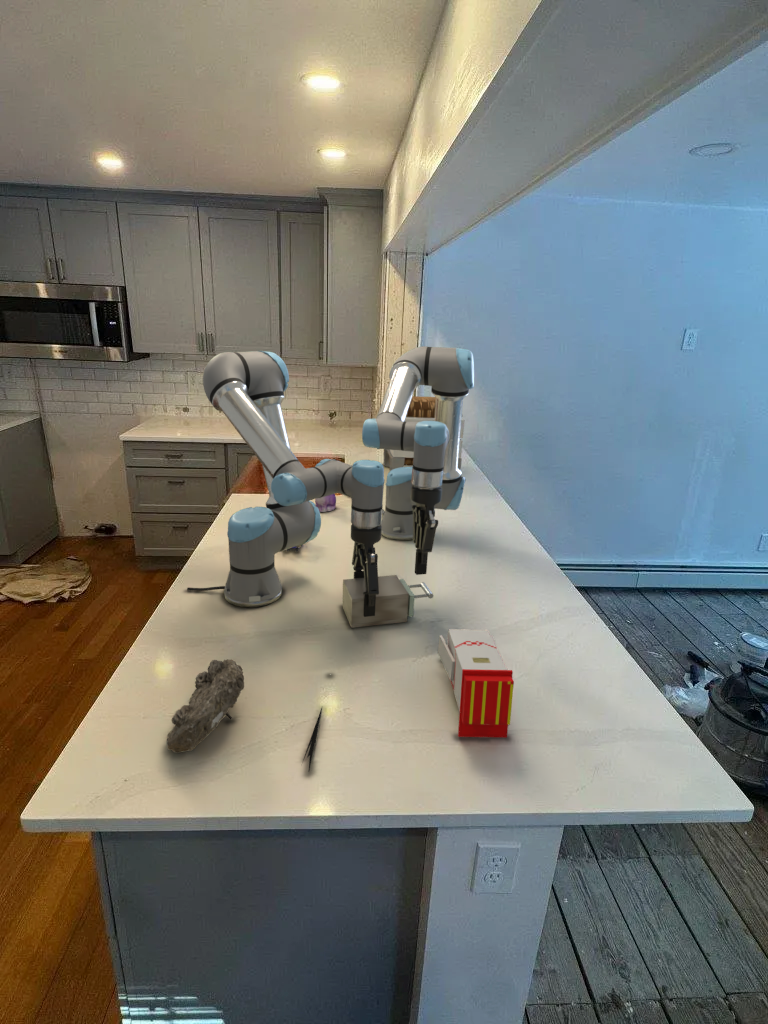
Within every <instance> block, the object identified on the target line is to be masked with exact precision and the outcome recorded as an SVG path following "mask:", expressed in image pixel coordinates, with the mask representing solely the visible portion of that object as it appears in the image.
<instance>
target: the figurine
mask: <svg viewBox="0 0 768 1024" xmlns="http://www.w3.org/2000/svg"><path fill="white" fill-rule="evenodd" d="M314 504H315V507H317V508H318V509H319V512H320V513H326V512H331V511H334V510H335V509H336V505H337V497H336V493H335V494H332V495H328V496H325V497H321V498H316V499H314Z"/></svg>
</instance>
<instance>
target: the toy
mask: <svg viewBox="0 0 768 1024" xmlns="http://www.w3.org/2000/svg"><path fill="white" fill-rule="evenodd" d="M446 640H447V643H446V641H445V639H444V636H443V635H442V634H439V637H438V646H437V656H438V657H439V659H440V661H441V663H442V666H443V668H444V670H445V672H446V674H447V677H448V679H449V681H450V684H451V687H452V690H453V693H454V697H455V701H456V705H457V708H458V711H459V714H458V715H459V716H458V730H457V731H458V732H457V737H458V738H508V731H509V726H510V725H511V717H512V707H513V697H514V696H513V695H514V684H515V680H514V679H513V673H514V671H513V670H512V669H508V667H507V665H506V662H505V661H504V659H503V658H502V655H501V653H500V651H499V649H498V647H497V643H496V639H495V637H494V635H493V634H491V632H490V631H489V629H467V628H466V629H465V628H463V629H461V628H460V629H459V628H448V630H447V639H446Z"/></svg>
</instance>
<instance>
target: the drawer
mask: <svg viewBox="0 0 768 1024" xmlns="http://www.w3.org/2000/svg"><path fill="white" fill-rule="evenodd" d="M399 580H400V581H401V583H402V584H403V586H404V587H405V589H406V590H407V592H408V593H409V597H408V612H407V617H409V618H410V617H414V611H415V610H414V609H415V599H421V598H422V599H423V598H428V599H433V598H434V593H433V592H432V591H431V589H430V588H429V587H428V585H427V584H426V583H425V581H422V582H420V583H418V584H407V582H406V581H405V579H404V578H399ZM415 588H420V589H421V590H422V591H423V593H424V594H414V593H413V591H412V590H411V589H415Z"/></svg>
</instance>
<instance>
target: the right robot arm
mask: <svg viewBox="0 0 768 1024" xmlns="http://www.w3.org/2000/svg"><path fill="white" fill-rule="evenodd" d="M388 378H389V383H388V386H387V388H386V391H385V394H384V396H383V399H382V401H381V404H380V406H379V409H378V412H377V415H376V417H375V418H374V417H373V418H367V419H365V420H364V422H363V423H362V424H363V425H362V432H361V441H362V444H363V446H364V447H366V448H371V449H377V450H384V449H388V450H402V451H412V452H414V457H413V466H404V467H400V468H396V469H393V470H391V471H390V470H389V472H388V473H387V475H386V482H385V504H384V505H385V507H384V508H385V509H383V508H382V510H384V514H382V523H381V526H382V534H381V536H382V537H385V538H387V539H389V540H395V541H410V540H412V542H413V544H415V545H414V547H415V560H414V574H415V575H416V576H419V575H420V576H421V575H427V572H428V571H427V570H428V557H429V553H432V552H433V547H434V542H435V537H436V532H437V528H438V525H439V520H438V519H435V516H436V510H444V511H456V510H458V509H459V508H460V505H461V501H462V498H463V493H464V487H465V484H466V477H465V476H463V475H462V469H461V470H460V469H459V468H458V455H459V443H460V439H461V438H460V431H461V418H462V419H463V403H464V399H465V398H466V397H467V396H468V395H469V392H470V390H472V389H474V388H475V361H474V354H473V352H472V351H471V350H470V349H468V348H467V349H466V348H460V347H445V346H426V345H423V346H422V345H421V346H418V347H414V348H411V349H409V350H408V351H406V352H404V353H403V354H401V355H400V356H399V357H398V358H397V359H395V361H394V362H393V364H392V366H391V368H390V371H389V375H388ZM419 386H426V387H431V391H430V392H431V394H432V395H433V397H436V402H435V419H434V421H422V422H406V421H405V418H406V415H407V412H408V408H409V405H410V402H411V399H412V396H413V395H414V392H415V390H416V389H417V388H418V387H419ZM435 509H436V510H435Z"/></svg>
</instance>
